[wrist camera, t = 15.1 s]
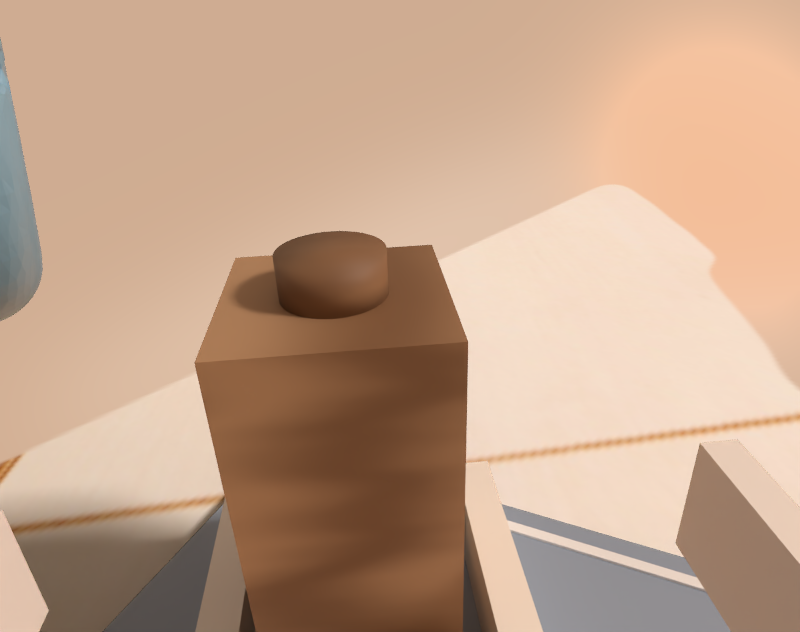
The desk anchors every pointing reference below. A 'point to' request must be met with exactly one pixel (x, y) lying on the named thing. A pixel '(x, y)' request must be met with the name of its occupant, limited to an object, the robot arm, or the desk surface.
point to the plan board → (543, 567)
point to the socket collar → (483, 550)
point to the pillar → (342, 434)
